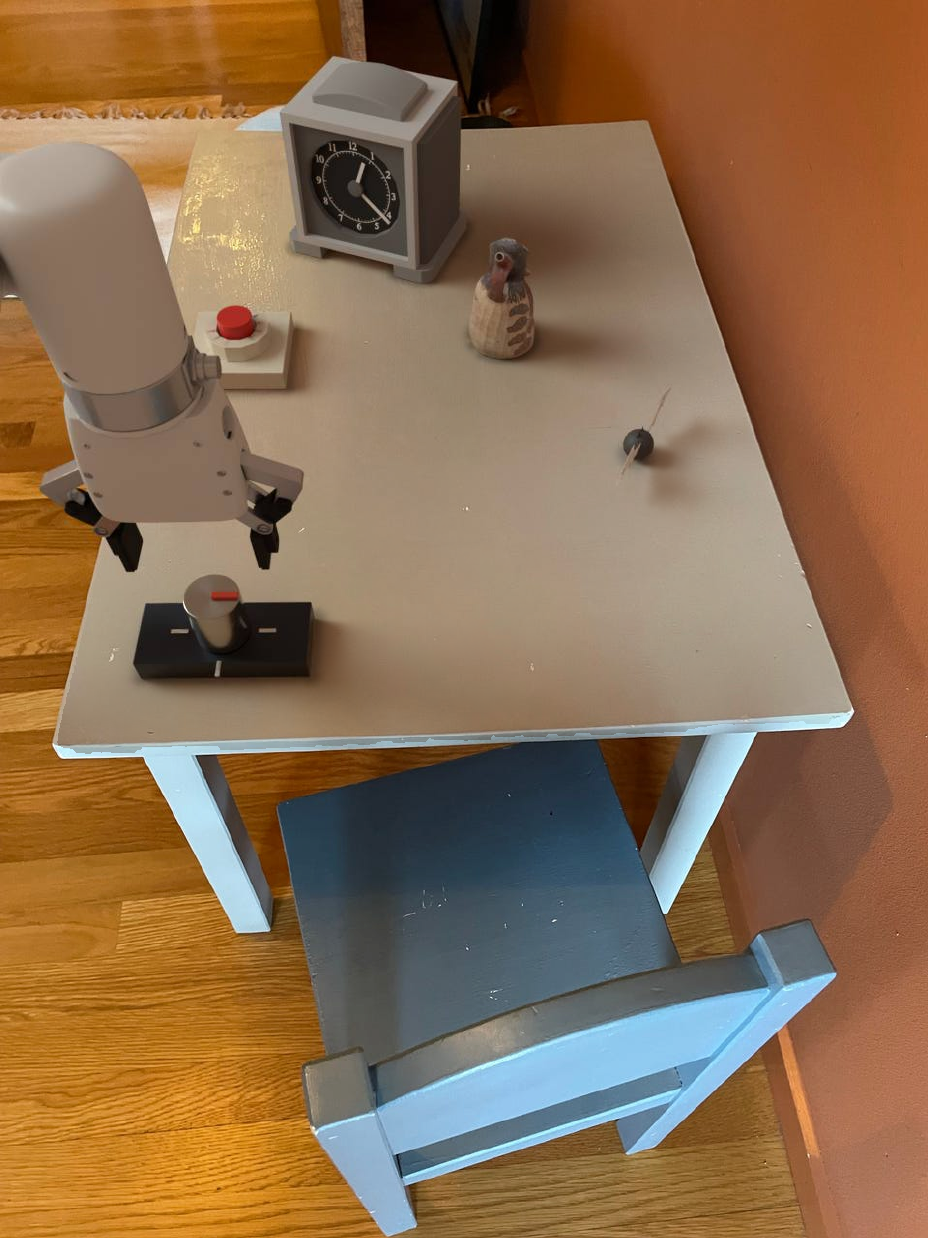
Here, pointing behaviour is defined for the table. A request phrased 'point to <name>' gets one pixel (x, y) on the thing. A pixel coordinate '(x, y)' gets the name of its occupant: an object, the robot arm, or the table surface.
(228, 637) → the knob
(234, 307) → the power button
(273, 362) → the switch box
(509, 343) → the figurine
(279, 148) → the table surface
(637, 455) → the bat toy
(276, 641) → the panel
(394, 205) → the alarm clock
